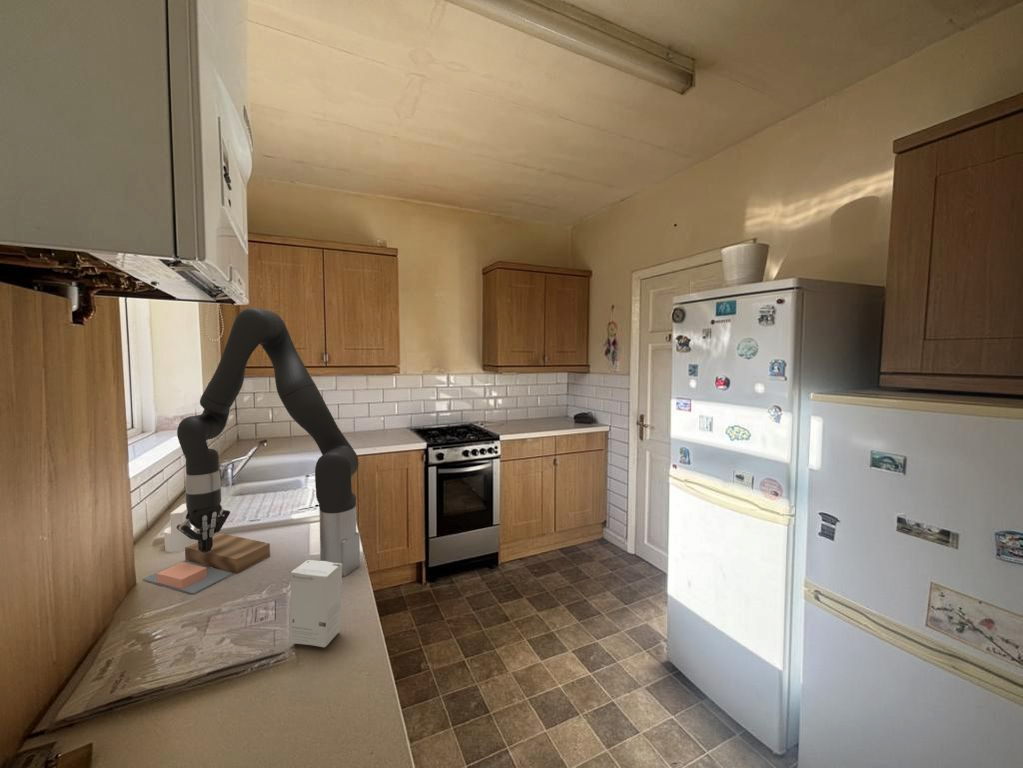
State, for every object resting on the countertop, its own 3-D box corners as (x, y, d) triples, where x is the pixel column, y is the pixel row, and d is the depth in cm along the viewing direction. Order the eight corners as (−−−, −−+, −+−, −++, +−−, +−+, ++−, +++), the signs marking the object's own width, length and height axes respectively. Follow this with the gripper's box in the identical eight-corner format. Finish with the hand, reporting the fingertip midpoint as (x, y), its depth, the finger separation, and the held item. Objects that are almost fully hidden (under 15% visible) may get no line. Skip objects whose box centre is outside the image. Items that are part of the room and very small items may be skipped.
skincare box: (288, 644, 82) (286, 572, 81) (307, 625, 88) (306, 558, 87) (327, 648, 81) (326, 576, 80) (344, 628, 87) (342, 560, 86)
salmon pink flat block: (181, 579, 100) (182, 589, 100) (206, 567, 106) (206, 576, 106) (156, 573, 103) (157, 582, 103) (182, 562, 109) (182, 570, 109)
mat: (233, 574, 108) (233, 573, 108) (193, 594, 99) (193, 593, 98) (184, 562, 114) (184, 560, 114) (142, 580, 105) (142, 578, 105)
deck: (270, 556, 118) (269, 543, 117) (236, 573, 108) (236, 559, 108) (220, 545, 124) (220, 533, 124) (185, 561, 115) (184, 547, 115)
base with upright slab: (173, 542, 127) (171, 504, 126) (207, 538, 129) (206, 501, 129) (158, 555, 118) (156, 515, 117) (195, 551, 121) (194, 511, 120)
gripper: (186, 498, 102) (189, 565, 103) (237, 483, 114) (239, 543, 115) (166, 494, 104) (169, 560, 105) (218, 480, 117) (220, 539, 118)
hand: (205, 551), depth 110 cm, fingers closed
